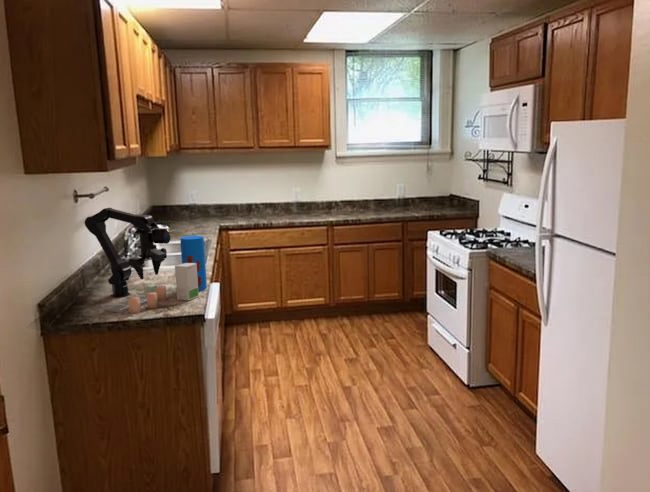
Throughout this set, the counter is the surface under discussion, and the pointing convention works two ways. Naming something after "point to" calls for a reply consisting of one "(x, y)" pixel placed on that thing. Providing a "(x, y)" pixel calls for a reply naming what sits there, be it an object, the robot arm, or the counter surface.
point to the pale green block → (149, 289)
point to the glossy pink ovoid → (161, 293)
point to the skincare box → (186, 281)
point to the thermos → (195, 257)
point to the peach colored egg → (134, 305)
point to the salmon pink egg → (152, 300)
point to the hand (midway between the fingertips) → (149, 276)
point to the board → (124, 306)
